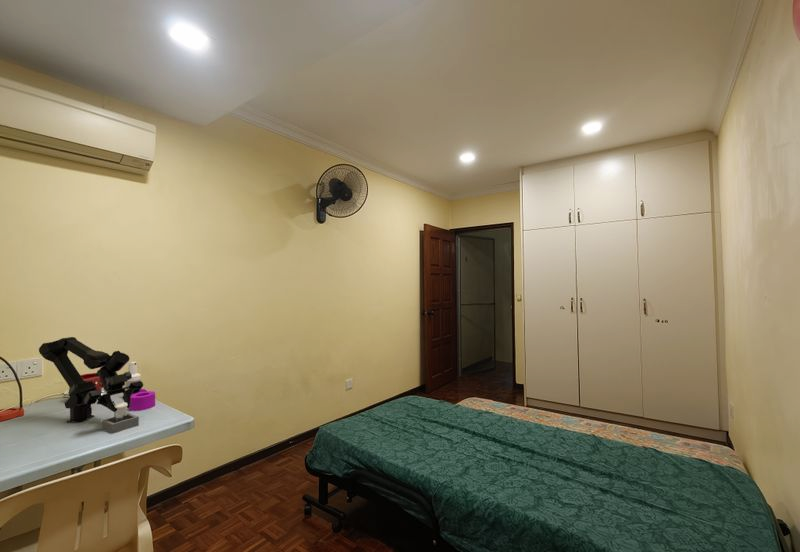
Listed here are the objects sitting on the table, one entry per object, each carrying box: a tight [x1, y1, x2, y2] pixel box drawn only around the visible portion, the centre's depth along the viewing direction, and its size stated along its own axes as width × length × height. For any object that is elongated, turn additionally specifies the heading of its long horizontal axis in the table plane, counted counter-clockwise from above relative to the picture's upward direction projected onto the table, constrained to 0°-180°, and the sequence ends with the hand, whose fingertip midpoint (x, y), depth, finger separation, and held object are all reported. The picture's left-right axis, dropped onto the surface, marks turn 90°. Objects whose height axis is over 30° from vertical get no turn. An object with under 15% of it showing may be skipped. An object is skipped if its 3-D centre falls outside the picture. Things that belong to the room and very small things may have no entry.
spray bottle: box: [123, 361, 142, 388], centre depth 181 cm, size 7×7×18 cm
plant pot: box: [68, 372, 103, 391], centre depth 177 cm, size 13×13×12 cm
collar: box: [101, 412, 139, 435], centre depth 142 cm, size 9×9×4 cm
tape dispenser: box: [128, 388, 156, 412], centre depth 168 cm, size 16×10×6 cm, turn 50°
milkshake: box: [112, 400, 128, 423], centre depth 142 cm, size 4×5×10 cm
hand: (121, 409), depth 142 cm, fingers closed on milkshake, 4 cm apart
